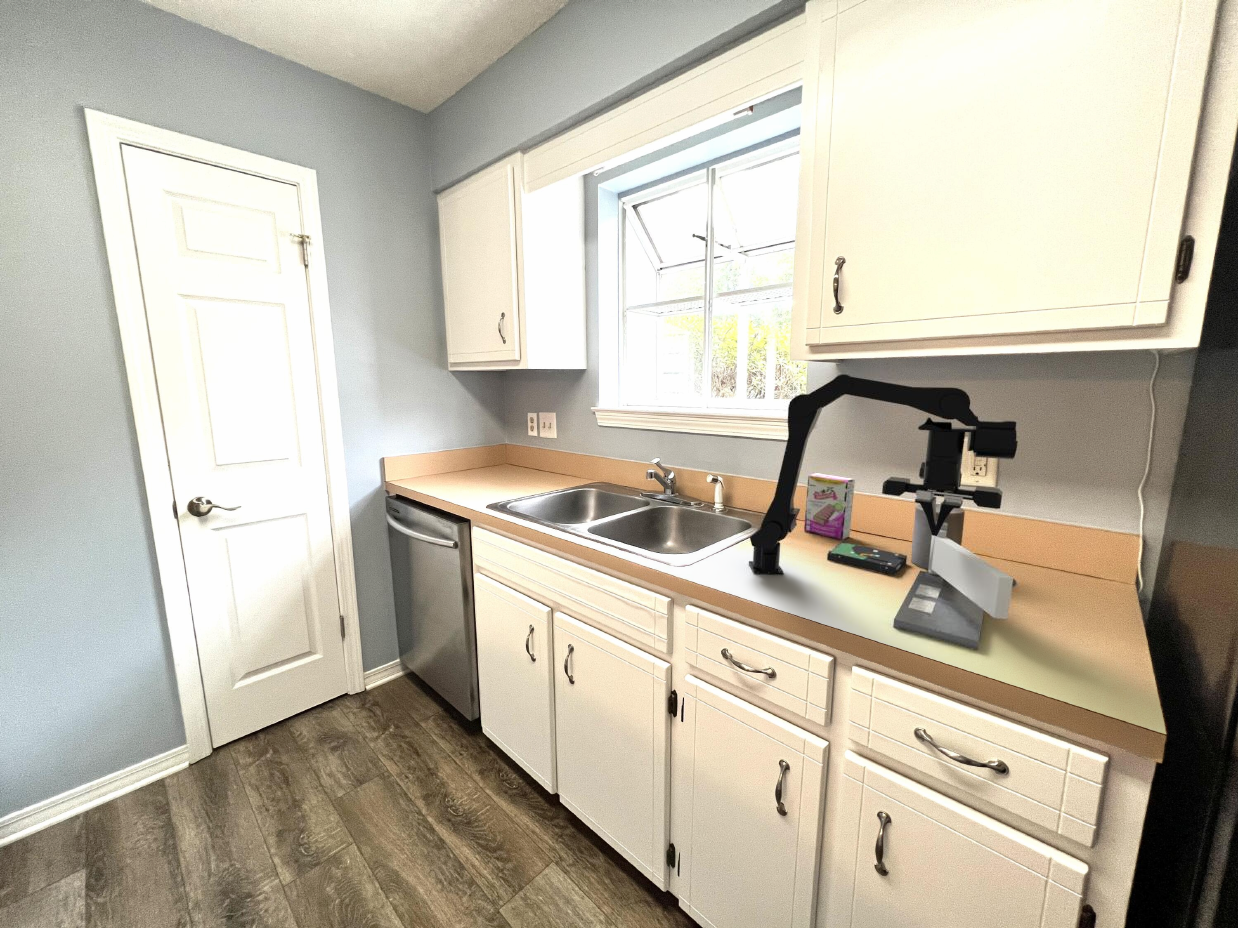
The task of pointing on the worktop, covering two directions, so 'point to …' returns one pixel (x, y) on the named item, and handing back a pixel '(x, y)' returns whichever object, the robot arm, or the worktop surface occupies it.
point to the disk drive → (867, 558)
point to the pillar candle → (924, 535)
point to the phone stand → (940, 611)
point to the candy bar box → (829, 505)
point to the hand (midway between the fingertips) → (934, 535)
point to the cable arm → (971, 575)
